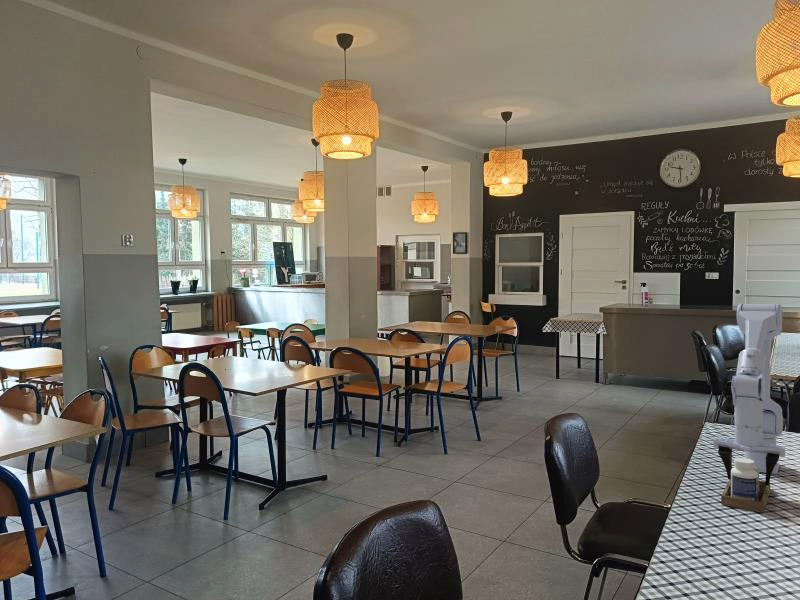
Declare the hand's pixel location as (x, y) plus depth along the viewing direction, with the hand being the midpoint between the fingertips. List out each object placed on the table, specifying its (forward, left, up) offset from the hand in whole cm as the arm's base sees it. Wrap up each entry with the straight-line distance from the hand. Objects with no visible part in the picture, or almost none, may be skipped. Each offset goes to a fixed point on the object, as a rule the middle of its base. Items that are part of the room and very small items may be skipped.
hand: (748, 481), depth 139 cm
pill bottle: (+8, 0, -3) cm, 8 cm away
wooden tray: (+4, 0, -3) cm, 5 cm away
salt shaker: (0, 0, -3) cm, 3 cm away
